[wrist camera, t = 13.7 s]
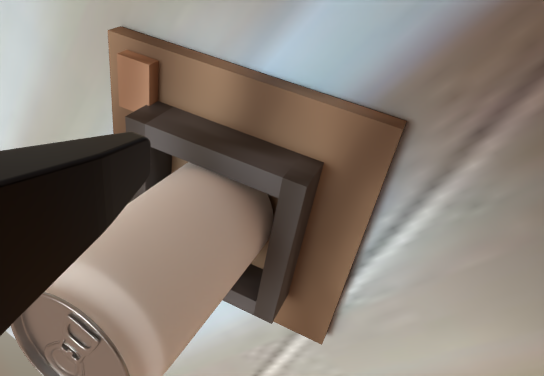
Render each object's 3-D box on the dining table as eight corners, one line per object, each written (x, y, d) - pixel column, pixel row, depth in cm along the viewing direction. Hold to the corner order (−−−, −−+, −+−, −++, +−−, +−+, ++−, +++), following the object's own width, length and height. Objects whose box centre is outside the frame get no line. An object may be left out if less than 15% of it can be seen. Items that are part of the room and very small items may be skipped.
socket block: (406, 121, 20) (391, 153, 18) (326, 333, 30) (308, 375, 27) (120, 26, 24) (72, 41, 22) (128, 240, 34) (95, 269, 31)
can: (163, 202, 28) (-11, 336, 18) (206, 129, 24) (14, 249, 15) (243, 269, 28) (108, 441, 18) (298, 205, 24) (165, 379, 14)
